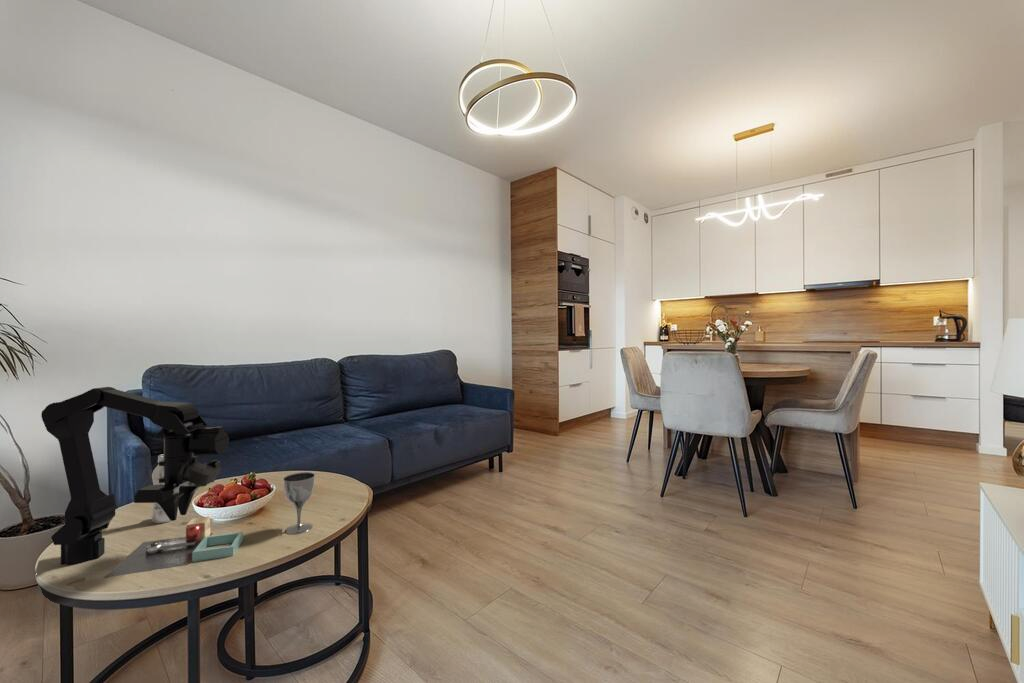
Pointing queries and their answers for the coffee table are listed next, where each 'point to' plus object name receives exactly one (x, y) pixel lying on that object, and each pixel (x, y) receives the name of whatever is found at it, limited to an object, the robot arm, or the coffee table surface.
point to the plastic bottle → (157, 511)
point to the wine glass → (298, 497)
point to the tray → (213, 553)
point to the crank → (191, 537)
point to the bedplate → (154, 558)
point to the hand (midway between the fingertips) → (178, 517)
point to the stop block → (202, 526)
